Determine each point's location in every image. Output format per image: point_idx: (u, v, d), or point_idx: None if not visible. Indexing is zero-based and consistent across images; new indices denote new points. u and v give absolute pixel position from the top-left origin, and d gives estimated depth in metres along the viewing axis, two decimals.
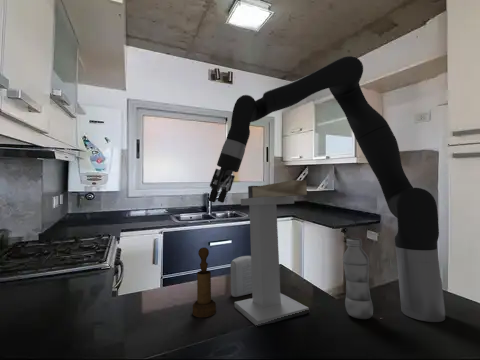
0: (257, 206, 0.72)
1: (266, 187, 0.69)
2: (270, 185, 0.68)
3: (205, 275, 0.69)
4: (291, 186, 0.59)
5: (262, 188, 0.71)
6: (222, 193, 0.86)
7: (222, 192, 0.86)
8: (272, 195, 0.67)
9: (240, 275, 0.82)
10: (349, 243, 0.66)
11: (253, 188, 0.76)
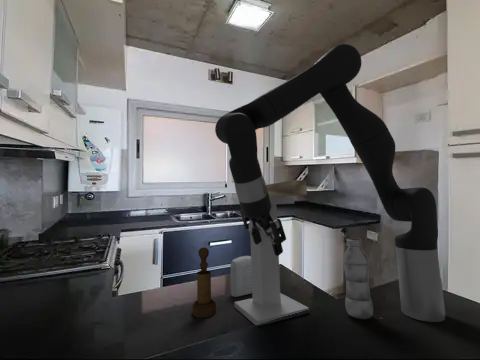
0: None
1: None
2: (270, 185, 0.68)
3: (205, 275, 0.69)
4: (291, 186, 0.59)
5: None
6: (255, 234, 0.68)
7: (255, 233, 0.68)
8: (272, 195, 0.67)
9: (240, 275, 0.82)
10: (349, 243, 0.66)
11: None
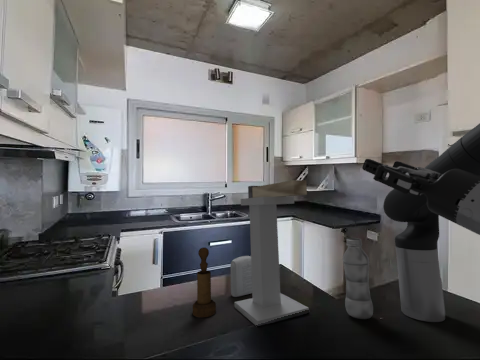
0: (257, 206, 0.72)
1: (266, 187, 0.69)
2: (270, 185, 0.68)
3: (205, 275, 0.69)
4: (291, 186, 0.59)
5: (262, 188, 0.71)
6: None
7: None
8: (272, 195, 0.67)
9: (240, 275, 0.82)
10: (349, 243, 0.66)
11: (253, 188, 0.76)
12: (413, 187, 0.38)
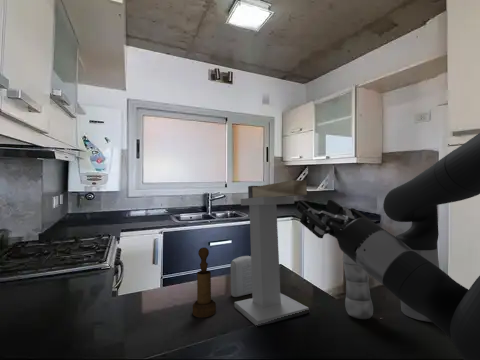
0: (257, 206, 0.72)
1: (266, 187, 0.69)
2: (270, 185, 0.68)
3: (205, 275, 0.69)
4: (291, 186, 0.59)
5: (262, 188, 0.71)
6: None
7: None
8: (272, 195, 0.67)
9: (240, 275, 0.82)
10: None
11: (253, 188, 0.76)
12: (326, 232, 0.44)
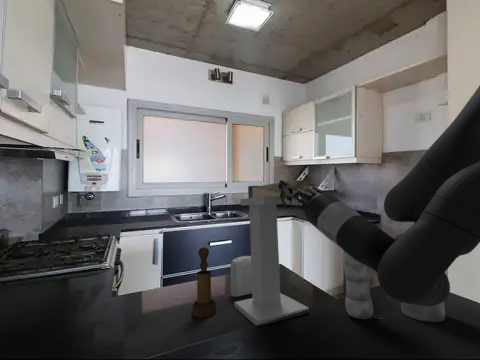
0: (257, 206, 0.72)
1: (266, 187, 0.69)
2: (270, 185, 0.68)
3: (205, 275, 0.69)
4: (291, 186, 0.59)
5: (262, 188, 0.71)
6: None
7: None
8: (272, 195, 0.67)
9: (240, 275, 0.82)
10: None
11: (253, 188, 0.76)
12: (293, 203, 0.53)
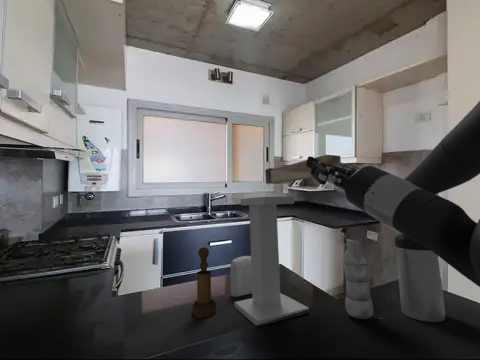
0: (257, 206, 0.72)
1: (289, 168, 0.60)
2: (294, 164, 0.58)
3: (205, 275, 0.69)
4: None
5: (284, 169, 0.62)
6: None
7: None
8: (297, 176, 0.57)
9: (240, 275, 0.82)
10: (349, 243, 0.66)
11: (272, 171, 0.67)
12: (329, 180, 0.44)
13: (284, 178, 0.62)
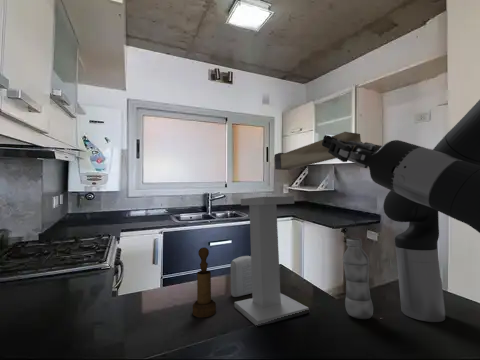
0: (257, 206, 0.72)
1: (302, 150, 0.56)
2: (308, 146, 0.54)
3: (205, 275, 0.69)
4: None
5: (296, 152, 0.58)
6: None
7: None
8: (311, 158, 0.53)
9: (240, 275, 0.82)
10: (349, 243, 0.66)
11: (282, 155, 0.63)
12: (352, 156, 0.40)
13: (296, 162, 0.58)
